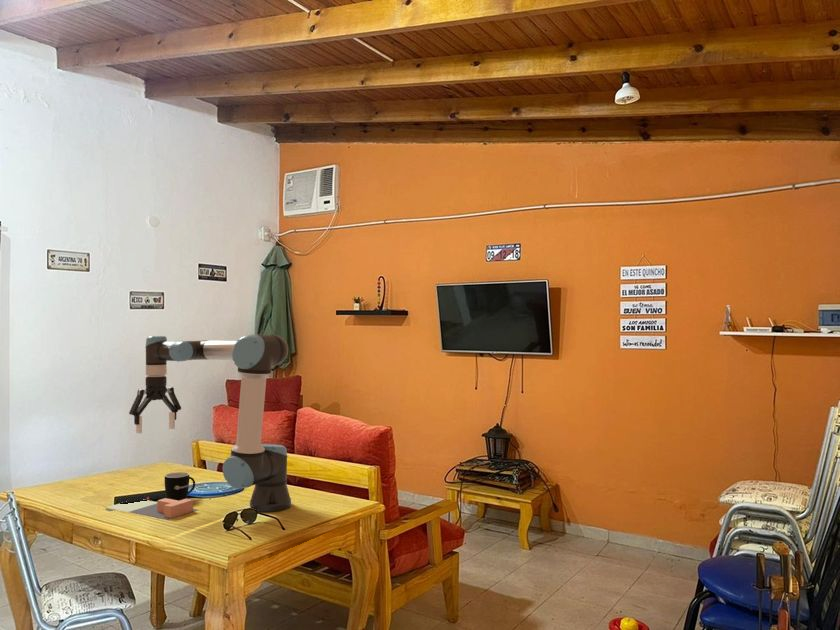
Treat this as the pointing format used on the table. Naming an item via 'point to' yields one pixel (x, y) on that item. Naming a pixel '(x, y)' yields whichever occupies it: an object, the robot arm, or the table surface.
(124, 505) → the mat
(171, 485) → the mug
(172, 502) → the t block
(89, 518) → the table surface
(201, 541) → the table surface
